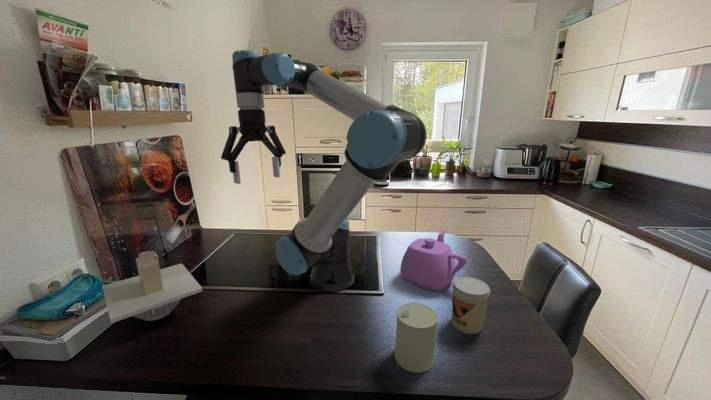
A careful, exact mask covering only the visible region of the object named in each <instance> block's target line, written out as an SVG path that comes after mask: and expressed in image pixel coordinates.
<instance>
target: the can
mask: <svg viewBox="0 0 711 400" xmlns="http://www.w3.org/2000/svg"><path fill="white" fill-rule="evenodd" d="M438 316H439V315H438V313H437V312H436V311H435V310H434V309H433V308H432V307H431V306H429V305H426V304H424V303H419V302H407V303H404V304H402V305H400V306H399V307H398V308H397V310H396V332H395V333H396V334H395V349H394V359H395V361H396V363H397V364H398V366H400V367H401V368H402V369H404V370H406V371H409V372H410V373H418V374H419V373H425V372H428V371H430V370H431V369H432V367H433V366H434V365H435V349H436V338H437V327H438V320H439V317H438Z"/></svg>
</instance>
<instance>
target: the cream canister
mask: <svg viewBox="0 0 711 400" xmlns="http://www.w3.org/2000/svg"><path fill="white" fill-rule="evenodd" d="M490 296H491V289H490V286H489V285H488V283H486V282H485V281H483V280H481V279H479V278H477V277H471V276H460V277H457V278H455V279H454V281H453V282H452V303H451V305H452V306H451V323H452V325H453V327H454V328H455V329H456V330H458V331H460V332H461V333H463V334H464V333H465V334H468V335H477V334H478V333H480V332H481V331H482V329H483V326H484V323H485V322H484V321H485V316H486V313H487V308H488V303H489V299H490Z"/></svg>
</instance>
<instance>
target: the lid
mask: <svg viewBox="0 0 711 400" xmlns="http://www.w3.org/2000/svg"><path fill="white" fill-rule="evenodd" d="M158 261H159V260H158ZM158 261H157V260H156V258H155V257H154V255H153V254H150V255H146V256H142V257H139V256H138V257H135V262H136V267H137V273H138V275H136V276H132V277H130V278H126V279H122V280H118V281H115V282H111V283H108V284H105V285H102V290H103V294H104V299H105V304H106V307H107V308H106V309H107V312H108V316H109V321H110V324H114V323H117V322H119V321H121V320H124V319H127V318H130V317H133V316H134V315H136V314H139V313H142V312H145V311H148V310H151V309H153V308H156V307H159V306H162V305H165V304H168V303H170V302H173V301H176V300H179V299H181V300H182V299H184V298H187V297H190V296H192V295H196V294H198V293H201V292H203V287H202V286H201V284H200V283H199V282H198V281H197V280H196V279H195V277H194V276H193V275H192V274H191V273H190V271H189V270H188V269H187V267H185V265H184V264H183V263H178V264H174V265H171V266H168V267H164V268H161V267H160V262H159V263H158Z"/></svg>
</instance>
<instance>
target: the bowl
mask: <svg viewBox="0 0 711 400" xmlns="http://www.w3.org/2000/svg"><path fill="white" fill-rule="evenodd" d="M181 300H182V299H179V300H176V301H173V302H170V303H168V304H165V305H162V306H159V307H156V308H153V309H151V310H148V311H145V312H142V313H139V314H136V315H134V316H132V317H133V318H136V319H141V320H144V321H147V322H150V321H151V322H153V321H158V320H160V319H163V318H165V317H167V316H168V315H170V313H171V312H172V310H173V309H175V308H176V307H177V305H178V304H179V303H180V301H181Z"/></svg>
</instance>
